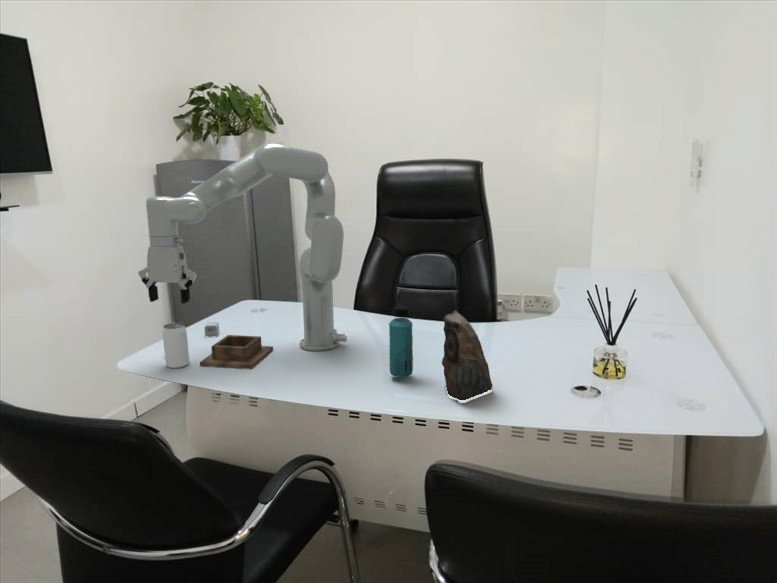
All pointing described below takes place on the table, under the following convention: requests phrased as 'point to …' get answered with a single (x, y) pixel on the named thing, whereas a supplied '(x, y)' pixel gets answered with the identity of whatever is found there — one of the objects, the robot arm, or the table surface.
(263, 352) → the holder
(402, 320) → the beverage bottle
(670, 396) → the table surface
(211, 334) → the usb wall charger
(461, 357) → the owl
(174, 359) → the can
